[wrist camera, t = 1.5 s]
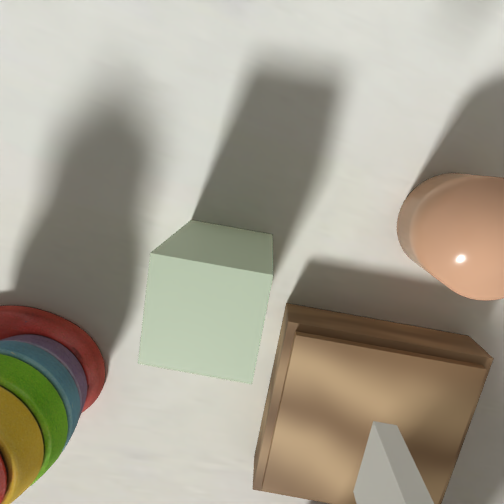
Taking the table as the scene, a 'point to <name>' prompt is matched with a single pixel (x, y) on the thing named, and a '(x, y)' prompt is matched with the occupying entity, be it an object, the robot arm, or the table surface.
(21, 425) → the stacking bear
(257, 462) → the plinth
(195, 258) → the sage block
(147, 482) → the table surface
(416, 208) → the peach rounded cylinder
